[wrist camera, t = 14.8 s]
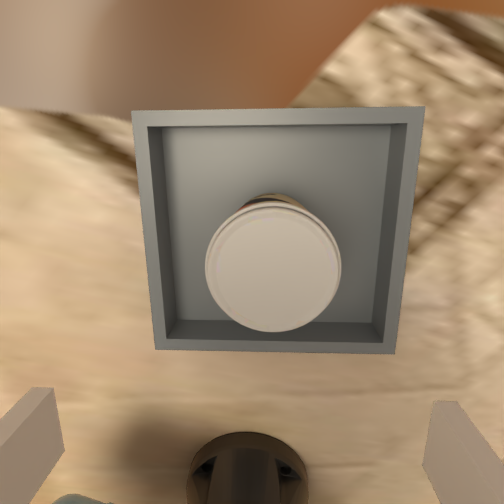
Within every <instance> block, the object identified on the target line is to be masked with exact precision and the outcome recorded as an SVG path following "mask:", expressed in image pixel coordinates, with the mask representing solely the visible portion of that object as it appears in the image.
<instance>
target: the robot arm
mask: <svg viewBox="0 0 504 504" xmlns="http://www.w3.org/2000/svg"><path fill="white" fill-rule="evenodd" d="M64 451H65V449H64V444H63V438H62V432H61V427H60V421H59V416H58V410H57V405H56V399H55V394H54V388H42V387H32V388H31V389H30V390H29V391H28V392H27V393H26V394H25V395H24V396H23V397H22V398H21V399H20V400H19V401H18V402H17V403H16V404H15V405H14V406H13V407H12V408H11V409H10V410H9V411H8V412H7V413H6V414H5V415H4V416H3V417H2V418H1V419H0V504H29V503H30V502H31V500H32V499H33V497H34V496H35V494H36V493H37V491H38V490H39V488H40V487H41V485H42V484H43V482H44V481H45V479H46V478H47V476H48V475H49V473H50V472H51V470H52V469H53V467H54V466H55V464H56V463H57V461H58V460H59V458H60V457H61V455H62V454H63V453H64ZM422 466H423V468H424V470H425V472H426V474H427V476H428V478H429V480H430V482H431V484H432V486H433V489H434V491H435V493H436V495H437V497H438V499H439V501H440V503H441V504H504V464H503V463H502V461H501V460H500V459H499V457H498V456H497V455H496V453H495V452H494V451H493V449H492V448H491V447H490V445H489V444H488V443H487V441H486V440H485V439H484V437H483V436H482V435H481V433H480V432H479V430H478V429H477V428H476V426H475V425H474V424H473V422H472V421H471V420H470V418H469V417H468V416H467V414H466V413H465V412H464V410H463V409H462V408H461V406H460V405H459V404H458V402H456V401H434V402H433V408H432V414H431V419H430V425H429V430H428V436H427V442H426V447H425V453H424V459H423V464H422ZM308 496H309V492H308V482H307V474H306V470H305V467H304V465H303V463H302V461H301V459H300V458H299V457H298V455H297V454H296V453H295V452H294V451H293V450H292V449H291V448H290V447H288V446H287V445H285V444H284V443H282V442H280V441H279V440H277V439H274V438H272V437H269V436H266V435H262V434H257V433H233V434H228V435H224V436H221V437H219V438H216V439H214V440H212V441H211V442H209V443H208V444H206V445H205V446H204V447H203V448H202V449H201V450H200V451H199V452H198V453H197V454H196V456H195V458H194V460H193V462H192V464H191V468H190V472H189V476H188V480H187V503H188V504H308ZM52 504H106V503H103V502H100V501H97V500H94V499H91V498H88V497H85V496H82V495H79V494H68V495H65V496H62V497H60V498H59V499H57V500H56V501H55V502H53V503H52ZM107 504H113V503H111V502H110V503H107Z"/></svg>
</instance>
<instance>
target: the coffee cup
mask: <svg viewBox="0 0 504 504" xmlns="http://www.w3.org/2000/svg"><path fill="white" fill-rule="evenodd" d="M205 275H206V281H207V284H208V287H209V290H210V292H211V294H212V296H213V298H214V300H215V301H216V303H217V304H218V305H219V306H220V308H221V309H222V310H223V311H224V312H225V313H226V314H227V315H228V316H229V317H231V318H232V319H234V320H235V321H236V322H238V323H240V324H241V325H244V326H246V327H248V328H251V329H254V330H258V331H263V332H283V331H288V330H293V329H296V328H298V327H301V326H303V325H305V324H307V323H308V322H310V321H312V320H313V319H314V318H316V317H317V316H318V315H319V314H320V313H321V312H322V311H323V310H324V309H325V308H326V307H327V306H328V305H329V303H330V302H331V300H332V299H333V297H334V295H335V293H336V291H337V289H338V286H339V282H340V277H341V257H340V252H339V248H338V245H337V243H336V241H335V239H334V237H333V235H332V233H331V232H330V230H329V229H328V228H327V227H326V225H325V224H324V223H323V222H322V221H321V220H320V219H318V218H317V217H316V216H315V215H313V214H312V213H310V212H309V211H308V210H307V209H306V208H304V207H303V206H302V205H301V204H300V203H299V202H297V201H296V200H294V199H293V198H291V197H289V196H287V195H283V194H279V193H266V194H261V195H258V196H256V197H254V198H252V199H250V200H249V201H247V202H246V203H245V204H244V205H243V206H242V207H241V208H240V209H239V210H238V211H237V212H236V213H235V214H233V215H232V216H230V217H229V218H228V219H227V220H226V221H224V222H223V224H222V225H221V226H220V227H219V228H218V229H217V231H216V232H215V234H214V235H213V237H212V239H211V241H210V244H209V246H208V250H207V253H206V259H205Z"/></svg>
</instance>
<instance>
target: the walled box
mask: <svg viewBox="0 0 504 504" xmlns="http://www.w3.org/2000/svg"><path fill="white" fill-rule="evenodd" d="M424 113H425V106H418V107H351V108H284V109H222V110H221V109H218V110H153V111H152V110H150V111H131V115H132V126H133V136H134V145H135V155H136V165H137V175H138V185H139V194H140V204H141V214H142V224H143V234H144V244H145V253H146V263H147V273H148V283H149V293H150V302H151V312H152V322H153V332H154V342H155V350H200V351H250V352H301V353H351V354H395V347H396V339H397V331H398V323H399V315H400V307H401V299H402V291H403V283H404V275H405V267H406V259H407V251H408V243H409V235H410V226H411V218H412V210H413V202H414V194H415V186H416V178H417V170H418V162H419V154H420V146H421V138H422V130H423V122H424ZM266 193H279V194H283V195H287V196H289V197H291V198H293V199H294V200H296V201H297V202H299V203H300V204H301V205H302V206H303V207H304V208H306V209H307V210H308V211H309V212H310V213H312V214H313V215H315V216H316V217H317V218H318V219H320V220H321V221H322V222H323V223H324V224H325V225H326V227H327V228H328V229H329V230H330V232H331V233H332V235H333V237H334V239H335V241H336V243H337V245H338V248H339V252H340V257H341V277H340V282H339V286H338V289H337V291H336V293H335V295H334V297H333V299H332V300H331V302H330V303H329V305H328V306H327V307H326V308H325V309H324V310H323V311H322V312H321V313H320V314H319V315H318V316H317V317H316V318H314V319H313V320H312V321H310V322H308V323H307V324H305V325H303V326H301V327H298V328H296V329H293V330H288V331H283V332H263V331H258V330H254V329H251V328H248V327H246V326H244V325H241V324H240V323H238V322H236V321H235V320H234V319H232V318H231V317H229V316H228V315H227V314H226V313H225V312H224V311H223V310H222V309H221V308H220V306H219V305H218V304H217V303H216V301H215V300H214V298H213V296H212V294H211V292H210V290H209V287H208V284H207V281H206V275H205V259H206V253H207V250H208V246H209V244H210V241H211V239H212V237H213V235H214V234H215V232H216V231H217V229H218V228H219V227H220V226H221V225H222V224H223V222H224V221H226V220H227V219H228V218H229V217H230V216H232V215H233V214H235V213H236V212H237V211H238V210H239V209H240V208H241V207H242V206H243V205H244V204H245V203H246V202H247V201H249V200H250V199H252V198H254V197H256V196H258V195H261V194H266Z"/></svg>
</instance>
